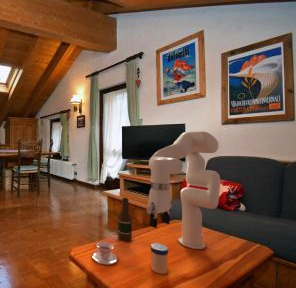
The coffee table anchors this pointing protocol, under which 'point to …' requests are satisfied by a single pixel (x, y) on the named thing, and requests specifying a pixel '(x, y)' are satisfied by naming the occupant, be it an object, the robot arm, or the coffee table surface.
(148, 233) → the coffee table surface
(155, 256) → the jar
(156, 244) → the jar lid
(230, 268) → the coffee table surface
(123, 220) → the beer bottle
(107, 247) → the teacup
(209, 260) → the coffee table surface
